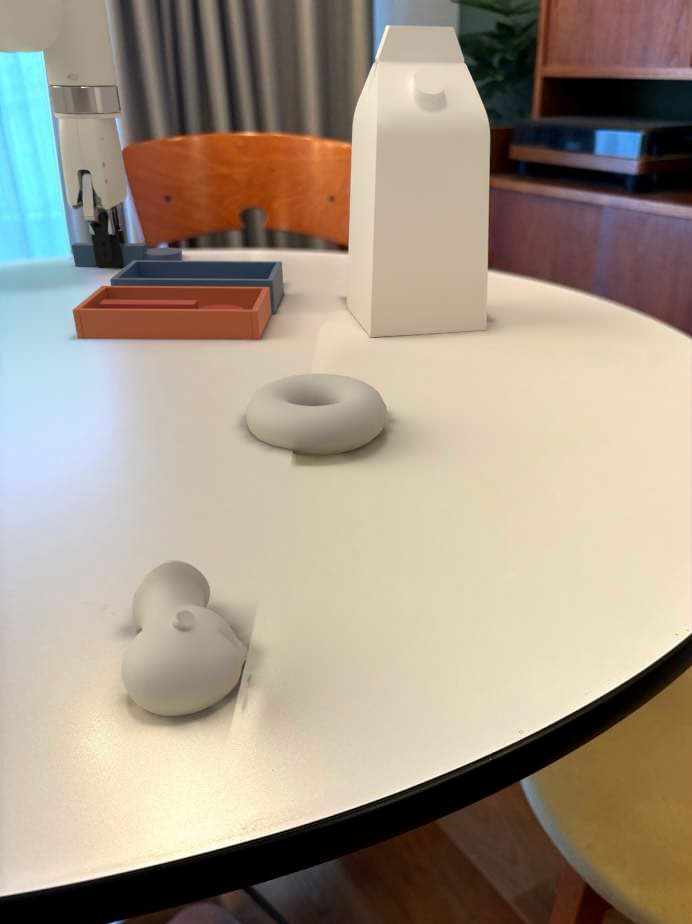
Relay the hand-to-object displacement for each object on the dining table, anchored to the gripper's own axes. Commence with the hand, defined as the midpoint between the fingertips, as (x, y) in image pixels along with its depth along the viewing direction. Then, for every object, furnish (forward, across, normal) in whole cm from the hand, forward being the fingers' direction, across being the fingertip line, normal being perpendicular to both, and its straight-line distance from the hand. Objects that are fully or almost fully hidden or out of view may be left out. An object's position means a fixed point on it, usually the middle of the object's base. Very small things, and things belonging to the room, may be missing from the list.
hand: (112, 264), depth 106 cm
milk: (0, +24, +38) cm, 45 cm away
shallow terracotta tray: (0, +30, +15) cm, 34 cm away
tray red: (0, +30, +15) cm, 34 cm away
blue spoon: (0, 0, +2) cm, 2 cm away
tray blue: (0, +18, +15) cm, 24 cm away
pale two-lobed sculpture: (0, +82, +26) cm, 86 cm away
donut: (0, +55, +30) cm, 63 cm away
